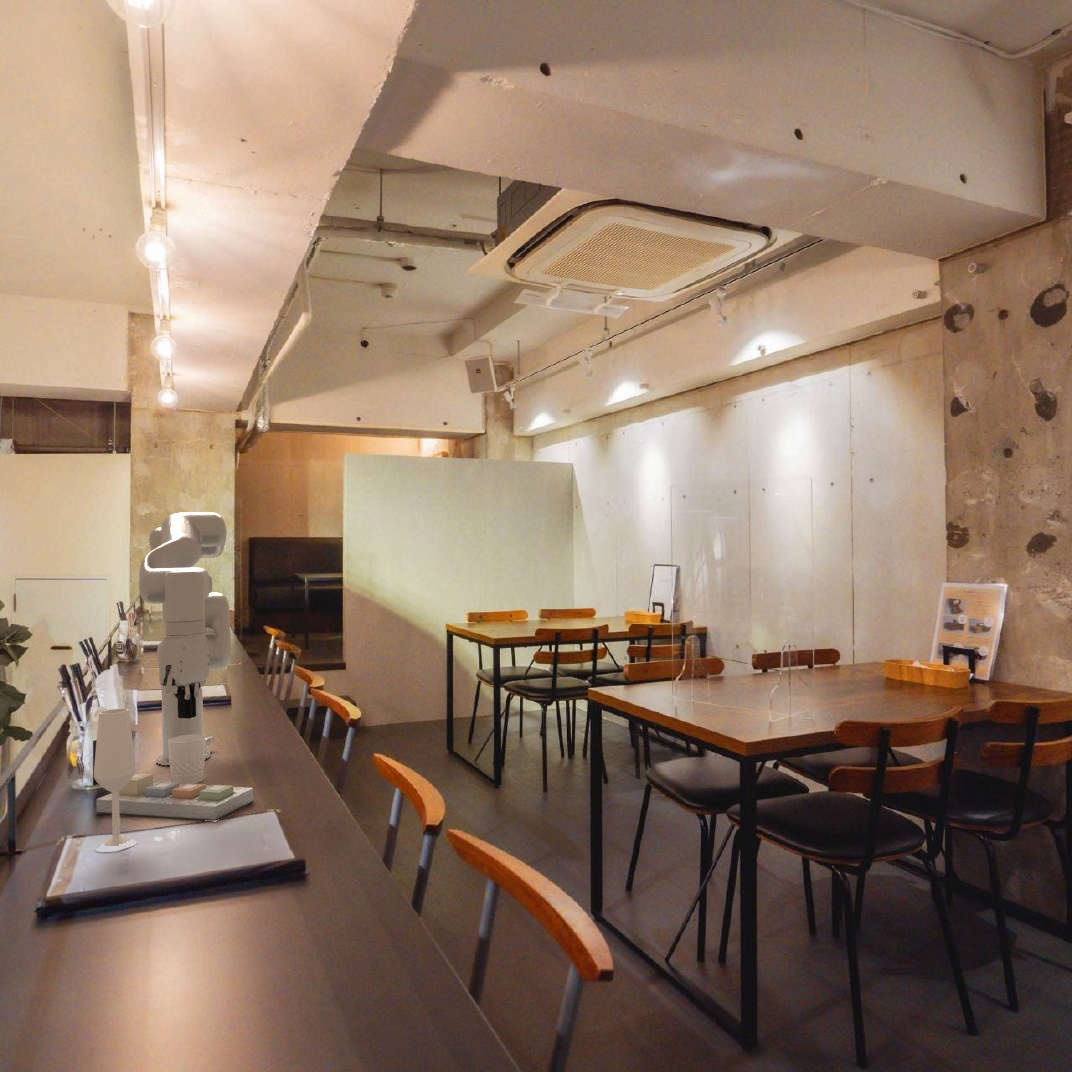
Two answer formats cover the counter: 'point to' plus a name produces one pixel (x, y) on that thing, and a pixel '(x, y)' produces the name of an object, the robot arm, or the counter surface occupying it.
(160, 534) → the robot arm
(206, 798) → the key
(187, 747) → the white cup
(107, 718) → the champagne flute
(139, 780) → the key
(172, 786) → the key
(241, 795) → the keyguard pad
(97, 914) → the counter surface
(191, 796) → the key
